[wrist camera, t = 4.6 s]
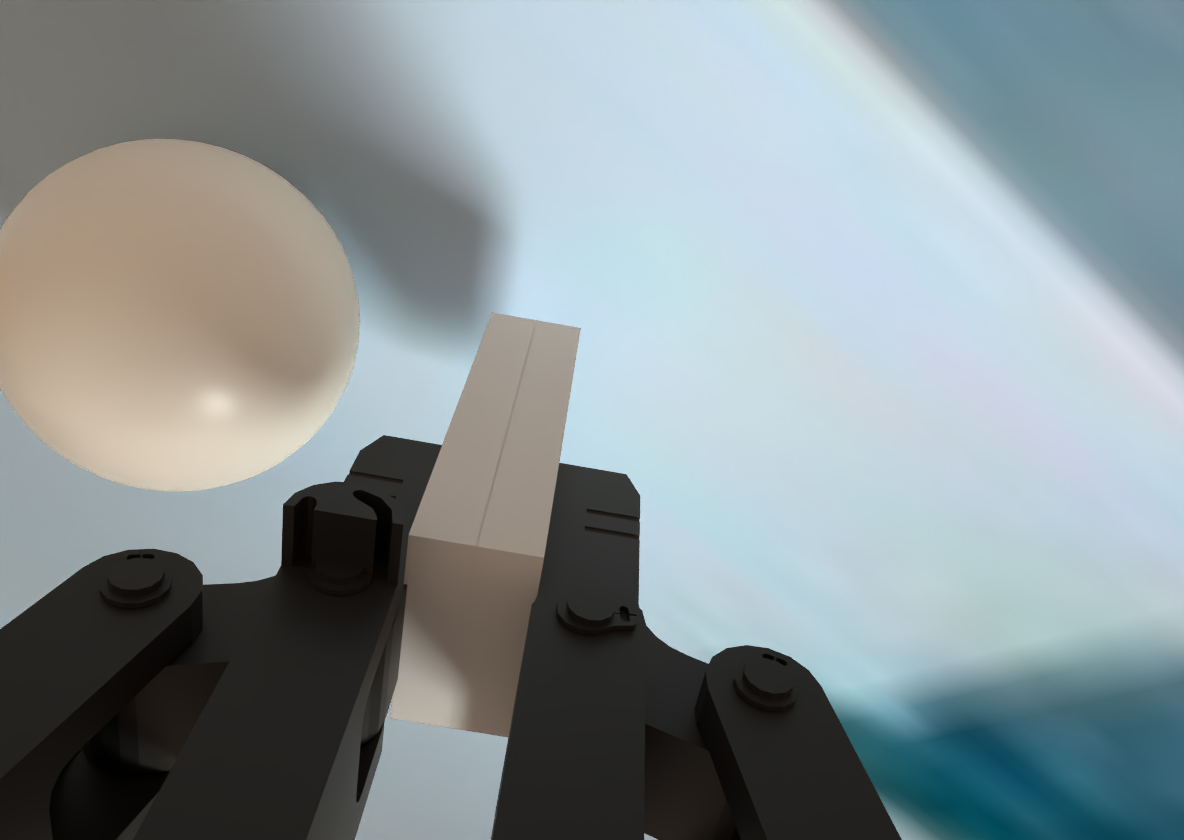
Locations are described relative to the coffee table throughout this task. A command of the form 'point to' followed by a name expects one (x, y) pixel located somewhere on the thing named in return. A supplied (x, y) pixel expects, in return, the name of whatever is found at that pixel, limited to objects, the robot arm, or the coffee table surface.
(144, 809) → the robot arm
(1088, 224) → the coffee table surface
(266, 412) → the cue ball
